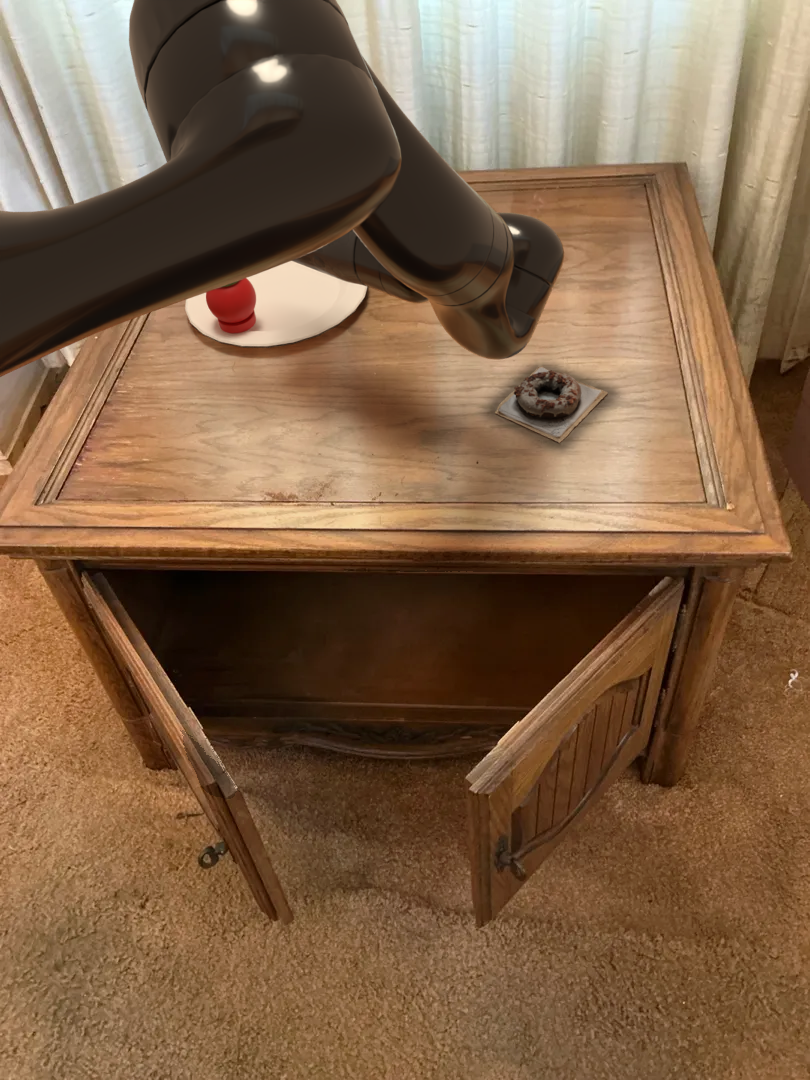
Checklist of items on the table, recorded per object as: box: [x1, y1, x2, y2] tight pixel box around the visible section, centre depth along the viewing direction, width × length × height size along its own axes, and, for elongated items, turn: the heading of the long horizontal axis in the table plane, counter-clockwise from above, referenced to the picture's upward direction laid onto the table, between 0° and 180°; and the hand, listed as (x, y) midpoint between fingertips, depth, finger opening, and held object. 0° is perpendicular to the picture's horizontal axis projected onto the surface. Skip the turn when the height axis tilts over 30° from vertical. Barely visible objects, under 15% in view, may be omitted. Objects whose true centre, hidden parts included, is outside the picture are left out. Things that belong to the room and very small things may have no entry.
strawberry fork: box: [206, 278, 256, 333], centre depth 85 cm, size 5×5×16 cm
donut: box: [494, 365, 609, 444], centre depth 81 cm, size 8×8×2 cm
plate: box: [184, 261, 369, 349], centre depth 96 cm, size 21×21×2 cm
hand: (209, 184), depth 79 cm, fingers open, 8 cm apart
